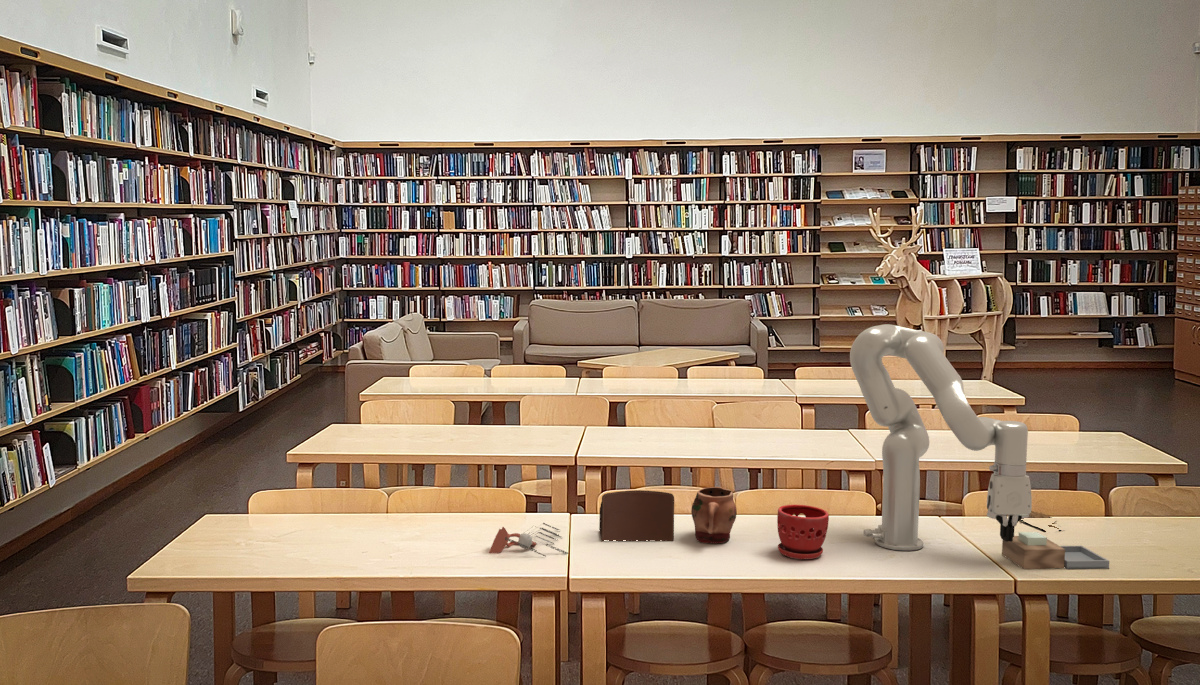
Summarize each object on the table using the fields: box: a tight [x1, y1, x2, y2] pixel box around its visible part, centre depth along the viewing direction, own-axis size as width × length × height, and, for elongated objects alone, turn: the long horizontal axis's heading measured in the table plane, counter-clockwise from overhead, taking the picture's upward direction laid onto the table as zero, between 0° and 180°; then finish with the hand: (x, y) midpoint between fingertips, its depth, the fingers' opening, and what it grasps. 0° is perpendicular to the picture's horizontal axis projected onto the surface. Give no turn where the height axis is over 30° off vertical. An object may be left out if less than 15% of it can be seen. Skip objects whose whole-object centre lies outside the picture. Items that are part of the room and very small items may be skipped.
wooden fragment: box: [1028, 510, 1059, 529], centre depth 303 cm, size 26×11×1 cm, turn 169°
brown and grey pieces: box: [488, 522, 569, 557], centre depth 276 cm, size 20×9×25 cm
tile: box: [1017, 531, 1048, 545], centre depth 264 cm, size 5×5×2 cm
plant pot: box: [776, 504, 830, 560], centre depth 268 cm, size 13×13×12 cm
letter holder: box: [598, 489, 675, 542], centre depth 283 cm, size 10×20×14 cm, turn 93°
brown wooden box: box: [1001, 535, 1065, 570], centre depth 264 cm, size 10×12×5 cm
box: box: [1059, 545, 1110, 570], centre depth 265 cm, size 11×13×2 cm
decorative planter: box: [691, 486, 738, 544], centre depth 279 cm, size 20×12×14 cm, turn 175°
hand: (1006, 539), depth 263 cm, fingers closed
